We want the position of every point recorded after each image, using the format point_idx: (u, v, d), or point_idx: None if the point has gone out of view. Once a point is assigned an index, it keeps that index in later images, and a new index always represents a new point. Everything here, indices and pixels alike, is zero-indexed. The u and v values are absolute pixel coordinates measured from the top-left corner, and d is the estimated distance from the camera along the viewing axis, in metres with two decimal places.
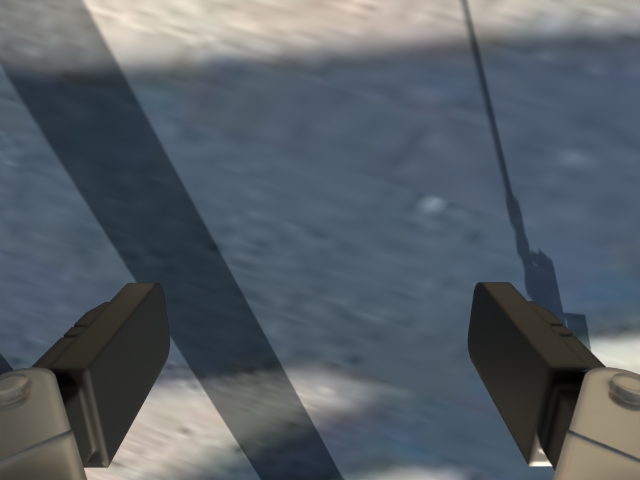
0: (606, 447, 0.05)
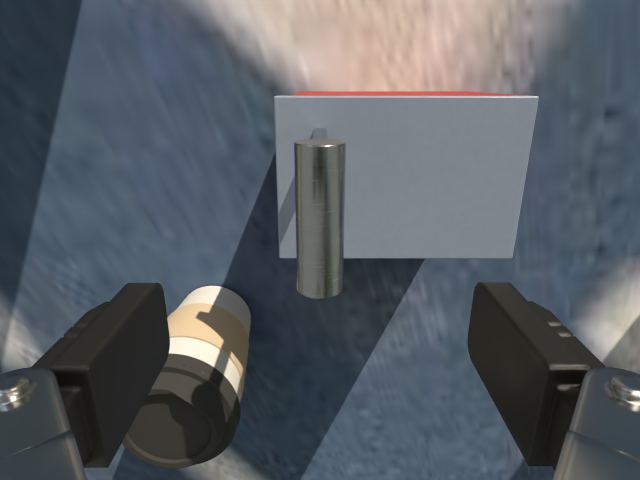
0: (606, 447, 0.05)
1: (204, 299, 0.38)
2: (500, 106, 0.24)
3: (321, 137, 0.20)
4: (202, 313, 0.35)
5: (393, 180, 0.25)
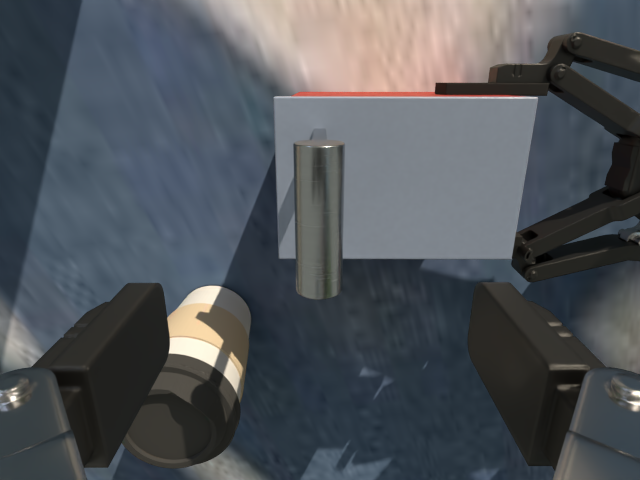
0: (606, 447, 0.05)
1: (204, 299, 0.38)
2: (500, 107, 0.24)
3: (320, 138, 0.20)
4: (202, 313, 0.35)
5: (392, 181, 0.25)
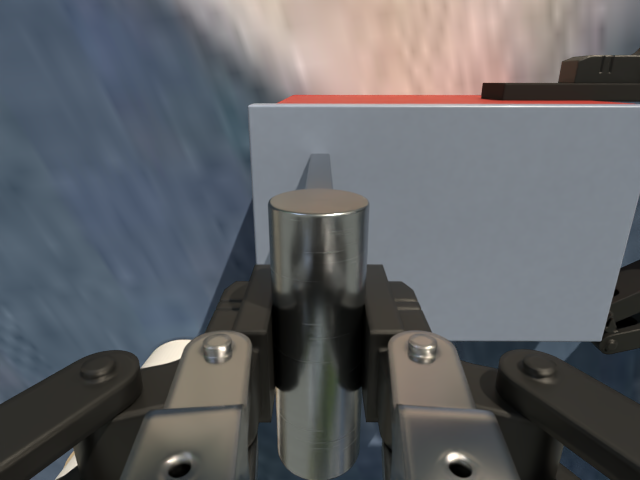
0: (430, 409, 0.06)
1: None
2: (601, 121, 0.15)
3: (321, 179, 0.12)
4: None
5: (431, 231, 0.17)
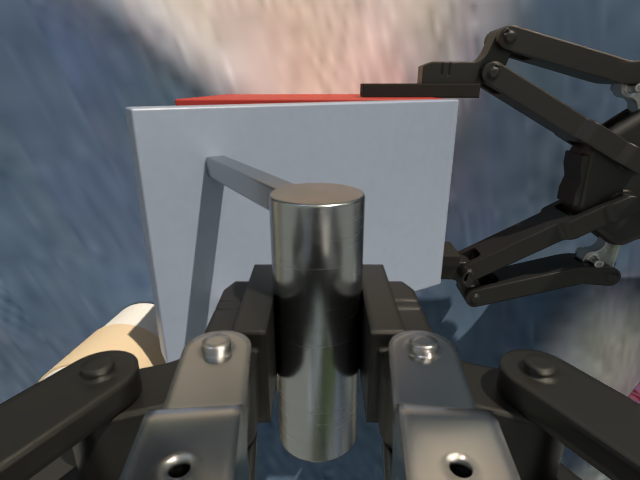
0: (431, 409, 0.06)
1: (129, 319, 0.35)
2: (426, 113, 0.20)
3: (268, 177, 0.12)
4: (118, 336, 0.32)
5: None
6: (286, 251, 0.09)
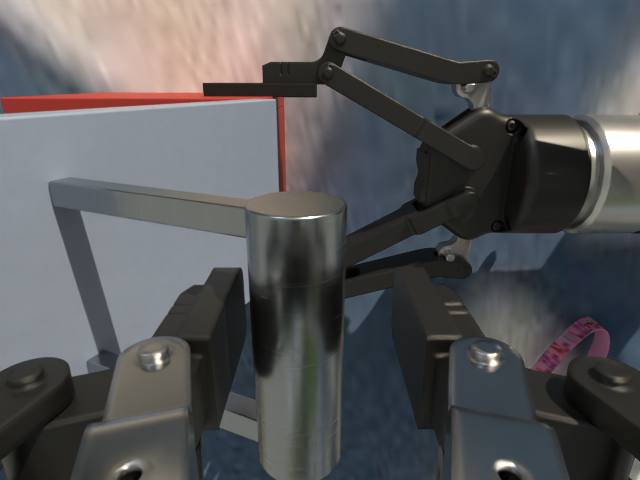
0: (485, 414, 0.06)
1: None
2: (255, 113, 0.20)
3: (193, 195, 0.10)
4: None
5: (180, 235, 0.16)
6: (291, 270, 0.08)
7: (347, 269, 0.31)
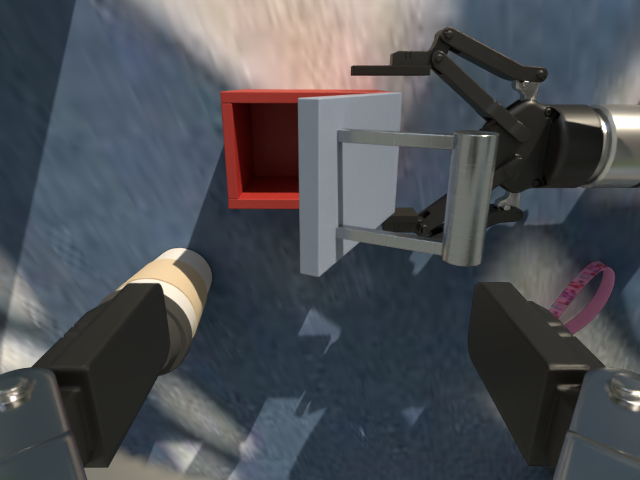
0: (606, 447, 0.05)
1: (171, 256, 0.47)
2: (394, 101, 0.32)
3: (421, 132, 0.22)
4: (167, 265, 0.45)
5: (365, 169, 0.29)
6: (479, 158, 0.20)
7: (432, 229, 0.44)
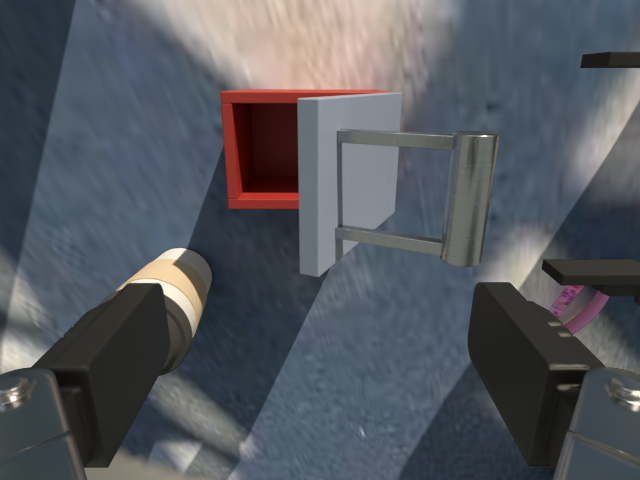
0: (606, 447, 0.05)
1: (171, 256, 0.47)
2: (394, 101, 0.32)
3: (420, 133, 0.22)
4: (167, 265, 0.45)
5: (364, 170, 0.29)
6: (478, 158, 0.20)
7: None
